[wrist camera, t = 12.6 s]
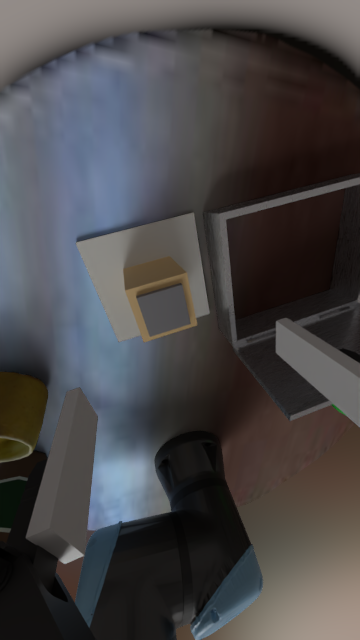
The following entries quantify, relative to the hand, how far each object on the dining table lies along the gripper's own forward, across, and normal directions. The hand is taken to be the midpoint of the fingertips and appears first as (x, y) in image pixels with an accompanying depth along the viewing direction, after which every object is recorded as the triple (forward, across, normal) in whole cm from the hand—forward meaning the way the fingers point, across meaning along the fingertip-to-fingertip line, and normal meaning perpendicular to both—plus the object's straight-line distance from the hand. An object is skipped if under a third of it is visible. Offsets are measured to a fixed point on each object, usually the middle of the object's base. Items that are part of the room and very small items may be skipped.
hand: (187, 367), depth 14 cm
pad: (+17, 0, +1) cm, 17 cm away
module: (+17, 0, 0) cm, 17 cm away
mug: (+18, -23, -6) cm, 29 cm away
